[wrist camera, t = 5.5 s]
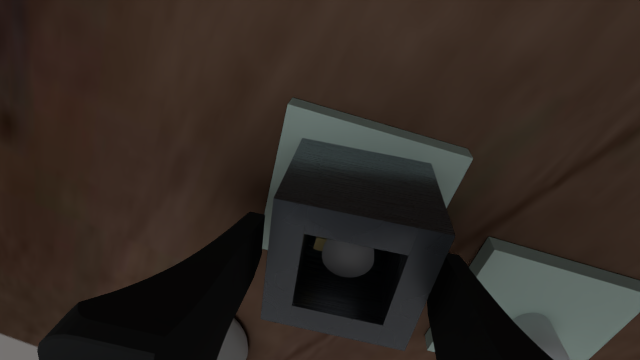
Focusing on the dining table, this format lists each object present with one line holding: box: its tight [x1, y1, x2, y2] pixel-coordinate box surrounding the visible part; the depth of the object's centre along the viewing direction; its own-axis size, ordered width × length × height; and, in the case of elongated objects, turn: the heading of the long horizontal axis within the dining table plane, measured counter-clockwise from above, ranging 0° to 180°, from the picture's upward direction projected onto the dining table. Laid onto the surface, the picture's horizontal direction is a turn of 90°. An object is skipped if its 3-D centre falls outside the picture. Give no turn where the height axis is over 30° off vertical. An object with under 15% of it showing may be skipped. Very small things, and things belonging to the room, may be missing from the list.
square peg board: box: [425, 237, 640, 360], centre depth 17 cm, size 8×8×4 cm
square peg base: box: [262, 98, 473, 278], centre depth 15 cm, size 8×8×4 cm
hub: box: [261, 138, 455, 351], centre depth 14 cm, size 6×6×5 cm
